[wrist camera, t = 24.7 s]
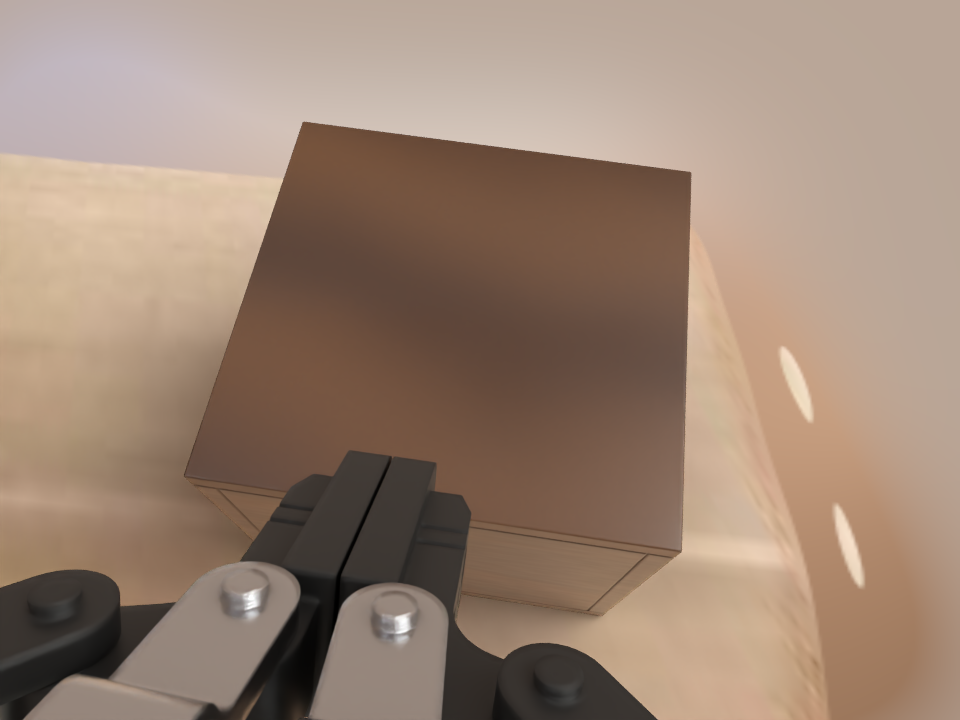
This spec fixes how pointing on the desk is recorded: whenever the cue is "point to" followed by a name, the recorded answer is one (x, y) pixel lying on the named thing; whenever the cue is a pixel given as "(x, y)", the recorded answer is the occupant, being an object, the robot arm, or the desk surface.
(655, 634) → the desk surface
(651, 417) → the lid
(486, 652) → the robot arm
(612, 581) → the chest
